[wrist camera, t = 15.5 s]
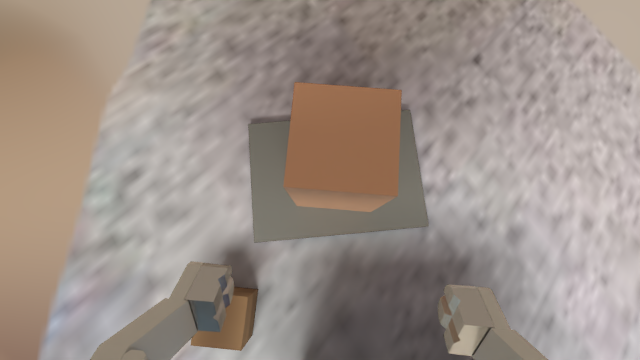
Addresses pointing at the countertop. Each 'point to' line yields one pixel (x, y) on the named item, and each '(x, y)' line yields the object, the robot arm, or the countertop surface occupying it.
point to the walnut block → (232, 323)
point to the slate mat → (303, 222)
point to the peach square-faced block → (343, 147)
